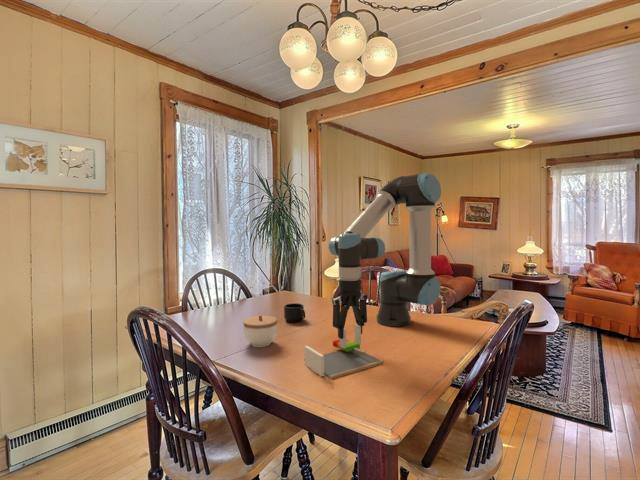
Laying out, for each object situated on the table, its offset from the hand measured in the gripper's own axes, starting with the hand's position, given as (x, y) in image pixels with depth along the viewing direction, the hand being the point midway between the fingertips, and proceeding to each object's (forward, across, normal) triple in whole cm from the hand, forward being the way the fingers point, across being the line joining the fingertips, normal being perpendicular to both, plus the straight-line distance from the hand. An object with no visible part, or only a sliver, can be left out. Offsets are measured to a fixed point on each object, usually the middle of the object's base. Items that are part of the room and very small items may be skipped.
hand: (350, 345), depth 120 cm
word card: (+3, +17, +4) cm, 18 cm away
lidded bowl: (+3, +22, -27) cm, 35 cm away
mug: (+3, -3, -46) cm, 46 cm away
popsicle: (+2, 0, 0) cm, 2 cm away
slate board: (+3, +6, +4) cm, 8 cm away
